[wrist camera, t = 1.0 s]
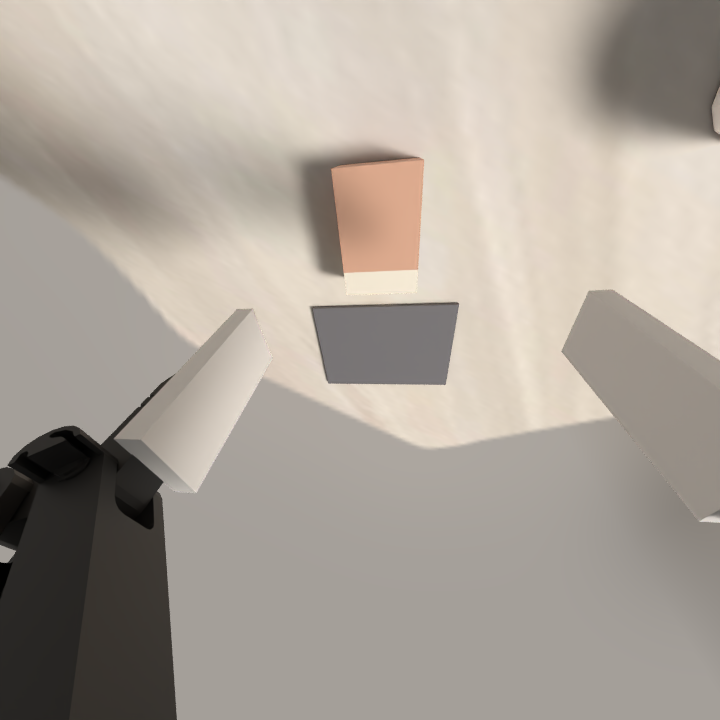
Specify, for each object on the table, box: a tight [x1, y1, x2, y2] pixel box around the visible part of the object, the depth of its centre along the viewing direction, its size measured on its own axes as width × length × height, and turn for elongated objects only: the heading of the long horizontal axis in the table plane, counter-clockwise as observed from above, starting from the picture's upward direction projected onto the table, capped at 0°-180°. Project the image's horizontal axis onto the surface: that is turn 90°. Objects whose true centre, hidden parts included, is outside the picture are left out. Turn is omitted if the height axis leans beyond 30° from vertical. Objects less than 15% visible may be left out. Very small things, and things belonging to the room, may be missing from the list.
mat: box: [313, 303, 459, 385], centre depth 31 cm, size 11×15×1 cm
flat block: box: [331, 158, 424, 296], centre depth 21 cm, size 9×6×4 cm, turn 5°
